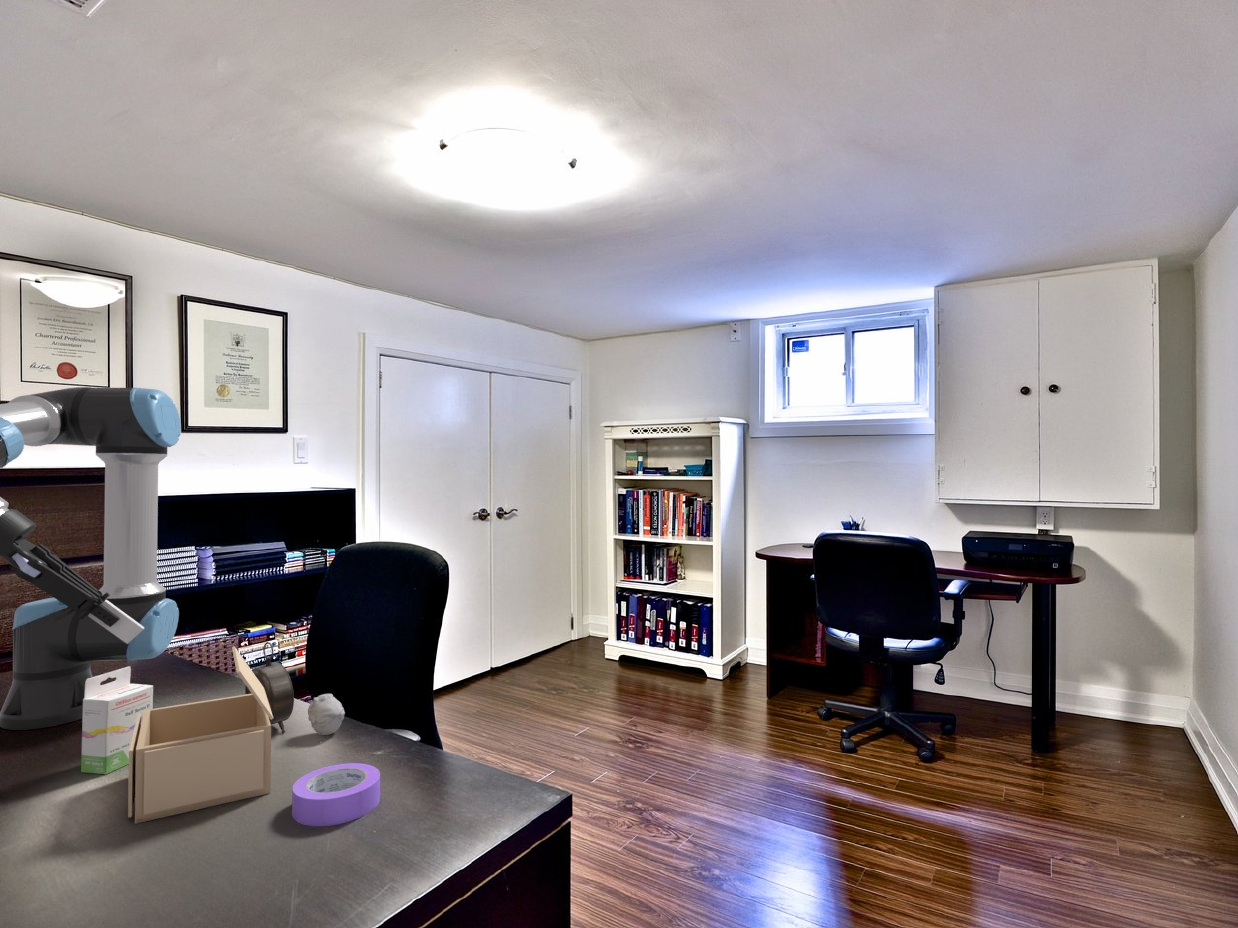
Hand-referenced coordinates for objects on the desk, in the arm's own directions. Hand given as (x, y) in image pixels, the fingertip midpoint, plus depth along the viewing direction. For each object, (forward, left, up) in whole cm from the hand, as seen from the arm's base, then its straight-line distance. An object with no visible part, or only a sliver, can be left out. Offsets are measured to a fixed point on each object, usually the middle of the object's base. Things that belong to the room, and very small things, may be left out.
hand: (135, 635), depth 98 cm
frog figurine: (-11, +28, -24) cm, 38 cm away
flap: (0, +17, -13) cm, 22 cm away
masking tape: (+18, +25, -24) cm, 39 cm away
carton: (0, +9, -24) cm, 25 cm away
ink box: (-16, -3, -24) cm, 29 cm away
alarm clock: (-19, +19, -24) cm, 36 cm away
